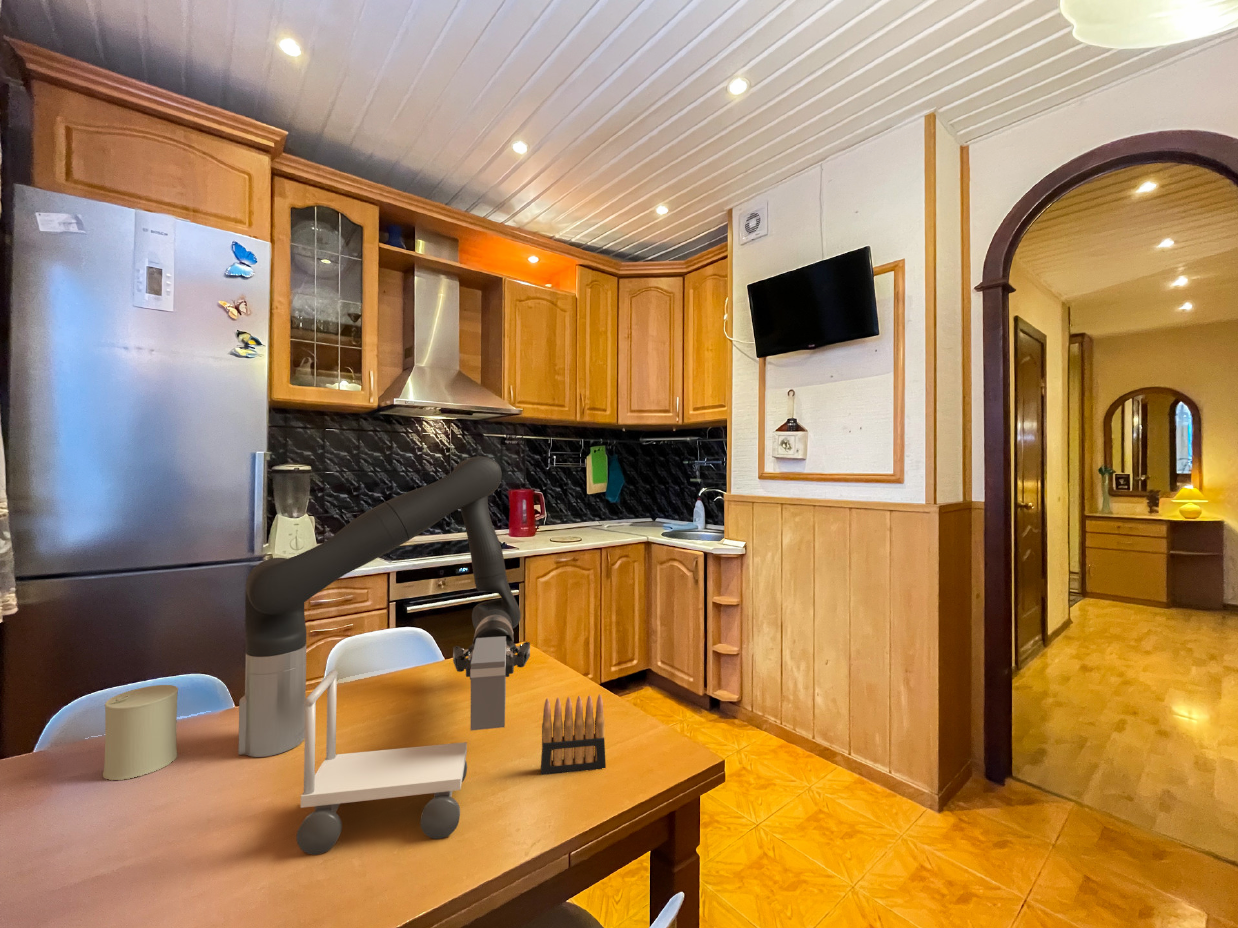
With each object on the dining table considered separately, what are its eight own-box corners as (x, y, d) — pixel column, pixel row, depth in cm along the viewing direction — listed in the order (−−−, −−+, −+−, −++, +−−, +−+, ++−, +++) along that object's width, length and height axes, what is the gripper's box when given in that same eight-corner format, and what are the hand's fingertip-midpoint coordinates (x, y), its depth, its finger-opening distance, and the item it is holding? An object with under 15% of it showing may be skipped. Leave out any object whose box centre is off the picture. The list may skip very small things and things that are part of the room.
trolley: (296, 856, 67) (298, 702, 67) (329, 797, 79) (331, 667, 79) (459, 836, 71) (460, 690, 71) (467, 782, 83) (468, 658, 83)
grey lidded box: (470, 730, 78) (470, 663, 78) (475, 696, 90) (475, 637, 90) (504, 727, 79) (505, 661, 79) (505, 693, 91) (506, 636, 91)
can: (101, 765, 87) (102, 693, 87) (173, 744, 94) (174, 677, 94) (104, 788, 81) (106, 710, 81) (181, 763, 88) (182, 692, 88)
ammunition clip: (604, 762, 89) (604, 691, 89) (605, 768, 87) (606, 696, 87) (540, 768, 87) (541, 696, 87) (541, 775, 85) (541, 701, 85)
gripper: (455, 621, 100) (443, 652, 83) (530, 617, 103) (534, 646, 86) (455, 660, 100) (443, 699, 83) (530, 655, 103) (534, 691, 86)
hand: (489, 672), depth 85 cm, fingers closed on grey lidded box, 5 cm apart
